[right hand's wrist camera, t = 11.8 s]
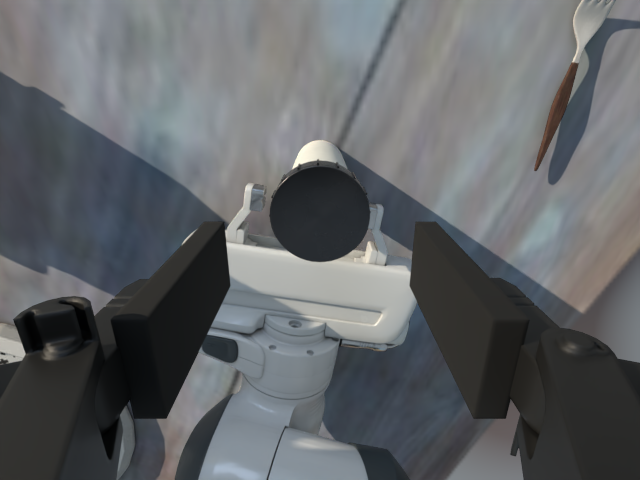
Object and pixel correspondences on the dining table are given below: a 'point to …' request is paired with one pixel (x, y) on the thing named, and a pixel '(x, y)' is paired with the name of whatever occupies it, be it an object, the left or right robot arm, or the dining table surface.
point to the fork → (574, 63)
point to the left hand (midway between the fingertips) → (315, 195)
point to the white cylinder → (320, 153)
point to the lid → (320, 211)
